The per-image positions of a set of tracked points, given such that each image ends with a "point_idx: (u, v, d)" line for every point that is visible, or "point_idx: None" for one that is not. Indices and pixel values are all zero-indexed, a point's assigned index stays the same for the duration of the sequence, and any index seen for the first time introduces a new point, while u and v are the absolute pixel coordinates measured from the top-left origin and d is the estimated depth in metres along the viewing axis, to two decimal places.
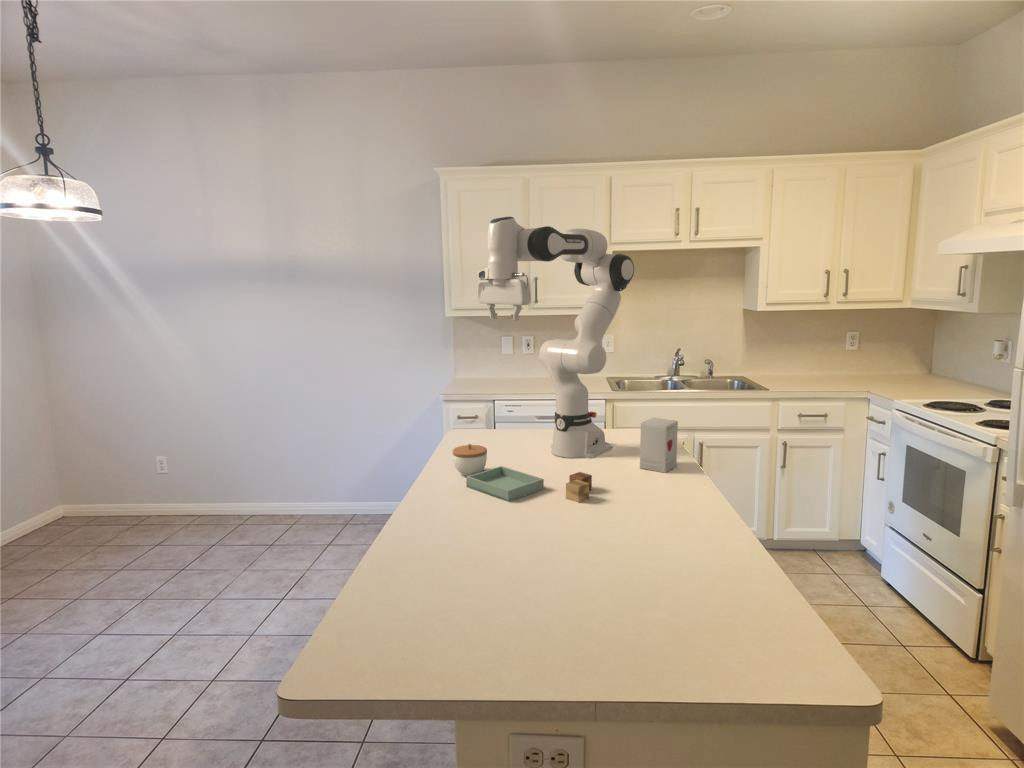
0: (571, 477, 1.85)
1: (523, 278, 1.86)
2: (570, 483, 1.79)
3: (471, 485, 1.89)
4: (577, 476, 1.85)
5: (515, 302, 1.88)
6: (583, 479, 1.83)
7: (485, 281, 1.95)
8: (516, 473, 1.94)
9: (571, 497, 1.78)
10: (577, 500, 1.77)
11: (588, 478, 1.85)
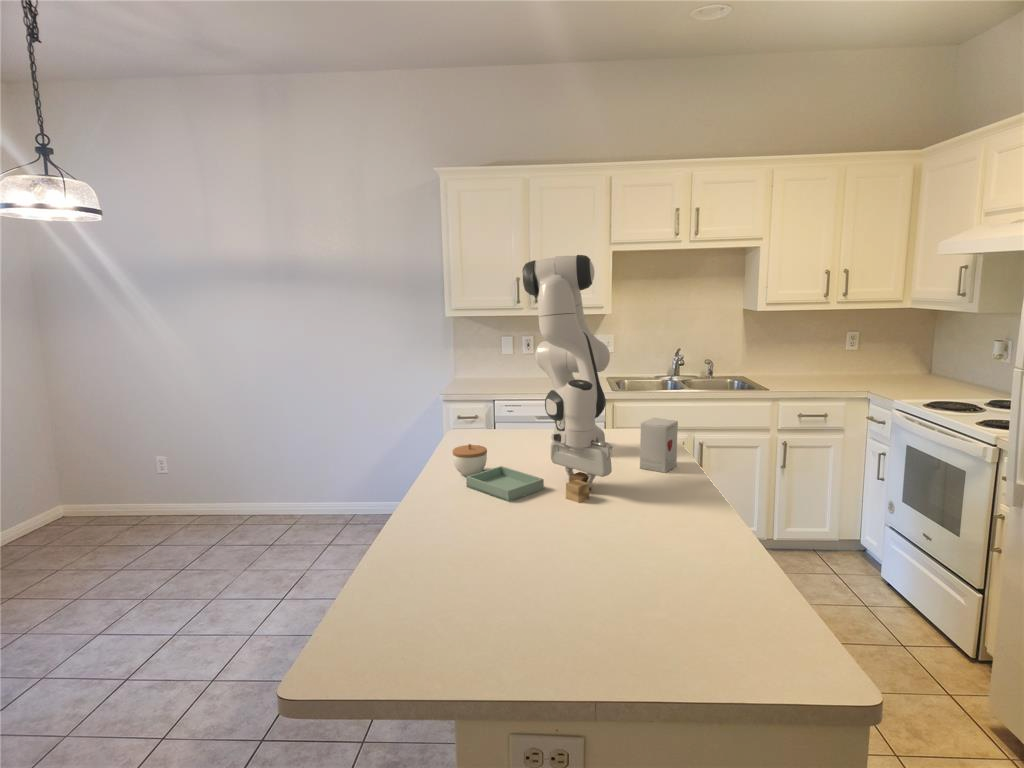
0: (571, 477, 1.85)
1: (604, 449, 1.77)
2: (570, 483, 1.79)
3: (471, 485, 1.89)
4: (577, 476, 1.85)
5: (595, 472, 1.79)
6: (583, 479, 1.83)
7: (561, 444, 1.86)
8: (516, 473, 1.94)
9: (571, 497, 1.78)
10: (577, 500, 1.77)
11: None
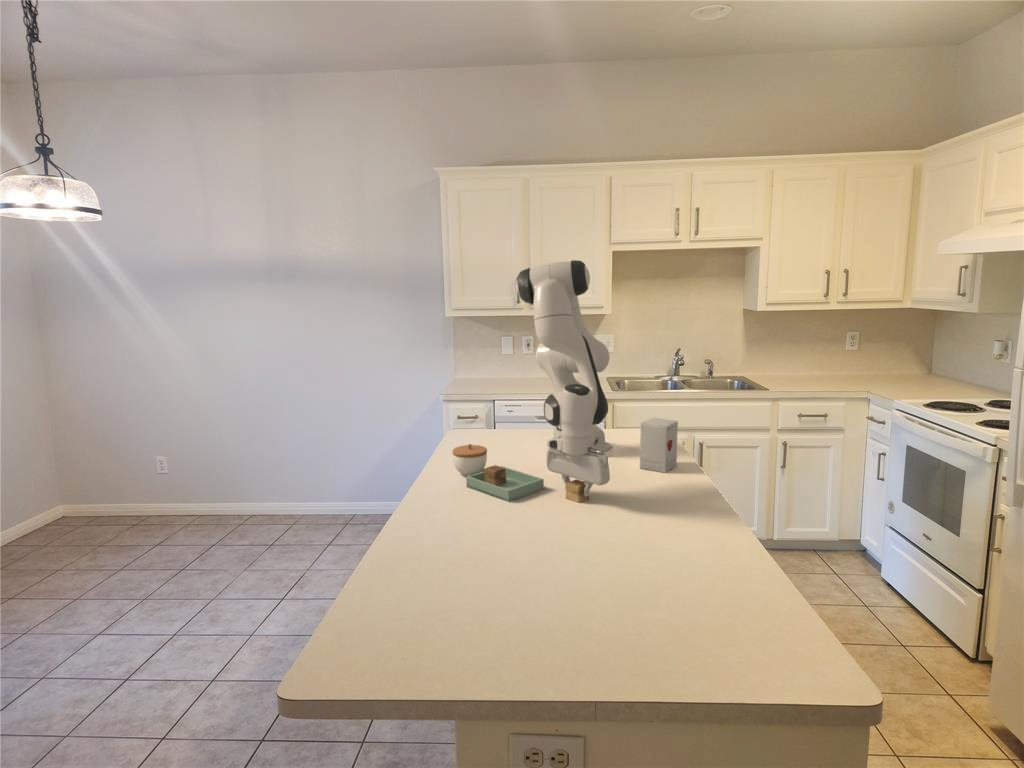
0: (485, 470, 1.91)
1: (602, 456, 1.70)
2: (570, 483, 1.79)
3: (471, 485, 1.89)
4: (491, 469, 1.90)
5: (592, 481, 1.72)
6: (496, 472, 1.89)
7: (557, 451, 1.79)
8: (516, 473, 1.94)
9: (571, 496, 1.78)
10: (577, 500, 1.77)
11: (502, 471, 1.90)
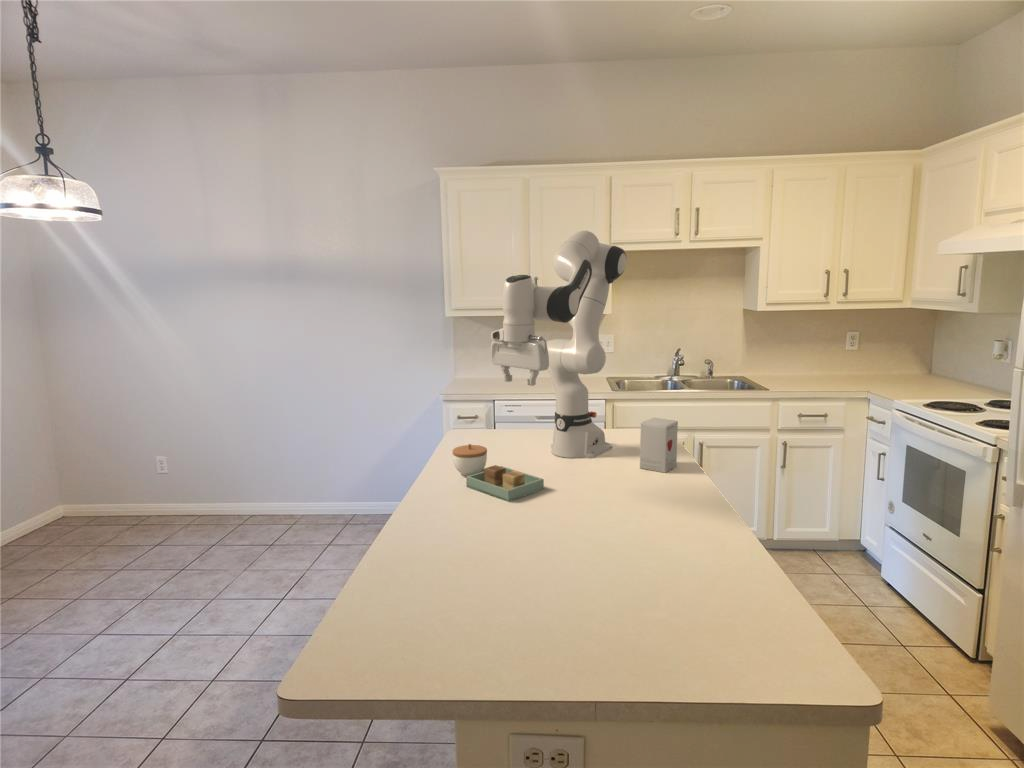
0: (485, 470, 1.91)
1: (541, 342, 1.74)
2: (507, 474, 1.86)
3: (471, 485, 1.89)
4: (491, 469, 1.90)
5: (532, 367, 1.76)
6: (496, 472, 1.89)
7: (500, 342, 1.83)
8: None
9: (507, 487, 1.85)
10: None
11: (502, 471, 1.90)
